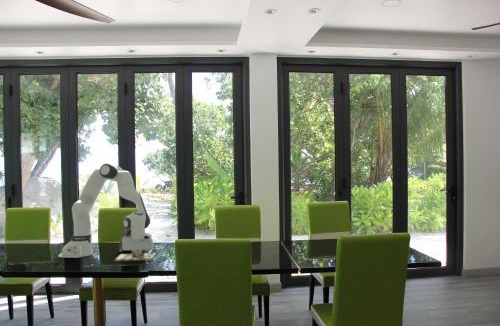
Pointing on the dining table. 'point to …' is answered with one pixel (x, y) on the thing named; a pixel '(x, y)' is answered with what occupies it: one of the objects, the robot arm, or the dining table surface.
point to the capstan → (138, 253)
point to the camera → (124, 233)
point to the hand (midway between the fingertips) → (137, 256)
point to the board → (129, 257)
